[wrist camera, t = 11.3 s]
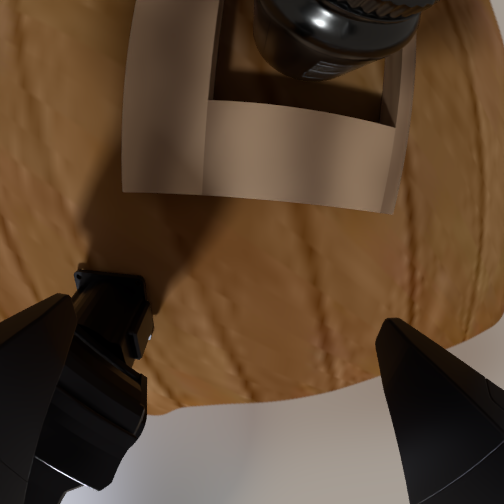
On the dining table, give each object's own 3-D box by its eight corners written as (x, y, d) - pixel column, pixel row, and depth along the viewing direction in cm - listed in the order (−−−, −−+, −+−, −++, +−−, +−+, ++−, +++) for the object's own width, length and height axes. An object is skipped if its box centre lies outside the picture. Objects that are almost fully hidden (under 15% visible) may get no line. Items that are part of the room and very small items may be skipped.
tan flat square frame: (136, 182, 18) (122, 192, 16) (161, -47, 11) (152, -63, 8) (378, 203, 19) (392, 214, 17) (397, -18, 12) (413, -28, 9)
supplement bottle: (367, 19, 14) (479, -42, 3) (337, 99, 16) (457, 90, 6) (271, -19, 12) (299, -134, 2) (236, 61, 15) (220, -23, 4)
